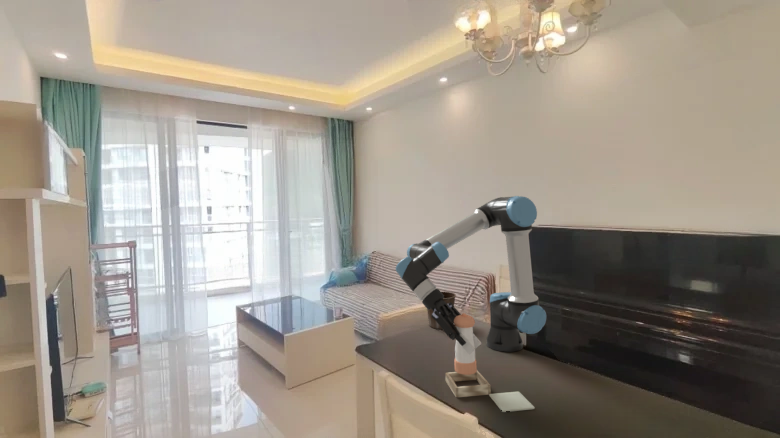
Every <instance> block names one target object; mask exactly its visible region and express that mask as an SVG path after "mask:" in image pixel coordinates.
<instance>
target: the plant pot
mask: <svg viewBox="0 0 780 438" xmlns="http://www.w3.org/2000/svg"><path fill="white" fill-rule="evenodd" d="M441 293H442V294H443V295H444V298H443V300H444V301H445V302H446V303H447V304H449V303H450V302H451V303H452V304H453V306H454V307H455V303H456V297H457V294H455V293H454V292H450V291H441ZM426 311H427V317H428V325H429V327H430V328H432V329H436V330H443V329H442V328H441V327H440V325H439V324H438V323H437V322H436V320H434V319H433V318H432V317H431V315H432V314H433V310H432V309H430V310H428V309H427V308H426ZM438 318H439V317H438Z"/></svg>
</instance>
